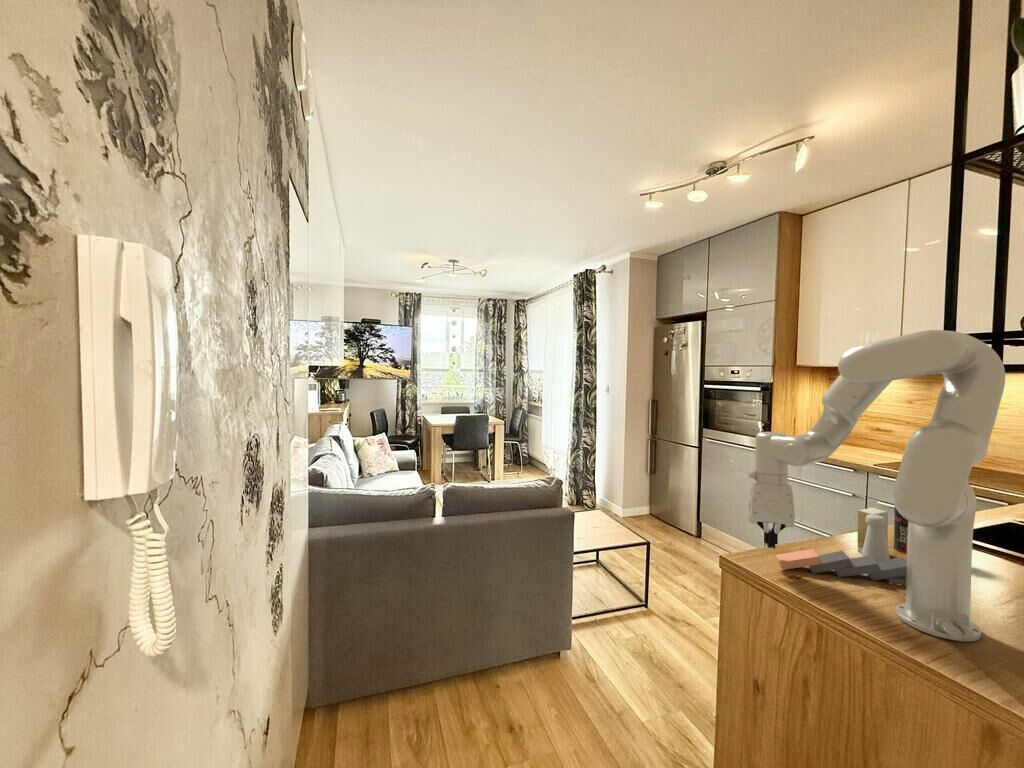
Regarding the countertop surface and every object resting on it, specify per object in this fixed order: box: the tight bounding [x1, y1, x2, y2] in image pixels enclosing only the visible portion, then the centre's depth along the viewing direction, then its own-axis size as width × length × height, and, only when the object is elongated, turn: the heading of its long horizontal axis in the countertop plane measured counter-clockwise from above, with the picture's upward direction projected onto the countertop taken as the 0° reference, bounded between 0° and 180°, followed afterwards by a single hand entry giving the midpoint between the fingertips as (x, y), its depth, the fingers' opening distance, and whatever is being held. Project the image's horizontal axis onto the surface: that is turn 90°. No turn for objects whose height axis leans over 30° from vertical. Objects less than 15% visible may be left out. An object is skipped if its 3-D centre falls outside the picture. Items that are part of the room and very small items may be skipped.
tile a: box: [807, 550, 853, 575], centre depth 114 cm, size 5×2×9 cm
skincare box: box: [857, 507, 889, 554], centre depth 126 cm, size 6×4×12 cm
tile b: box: [833, 556, 881, 578], centre depth 112 cm, size 5×2×9 cm
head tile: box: [775, 548, 821, 571], centre depth 117 cm, size 5×2×9 cm
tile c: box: [866, 557, 907, 582], centre depth 110 cm, size 5×2×9 cm
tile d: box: [885, 575, 906, 586], centre depth 109 cm, size 5×2×9 cm
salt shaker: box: [861, 514, 891, 562], centre depth 119 cm, size 6×6×13 cm
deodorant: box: [893, 506, 909, 555], centre depth 127 cm, size 6×6×15 cm
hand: (770, 546), depth 119 cm, fingers closed
